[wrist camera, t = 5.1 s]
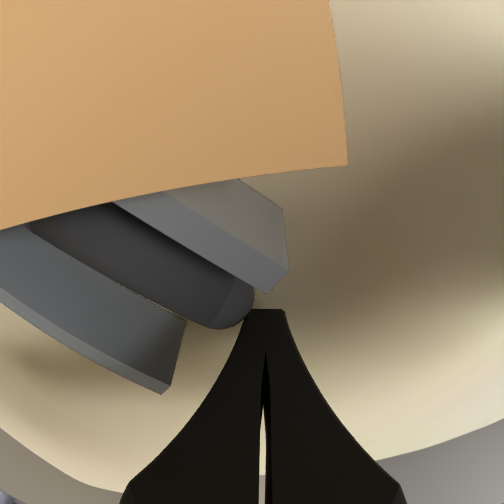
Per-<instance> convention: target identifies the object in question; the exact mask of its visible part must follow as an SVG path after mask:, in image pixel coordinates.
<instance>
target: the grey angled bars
mask: <svg viewBox="0 0 504 504" xmlns="http://www.w3.org/2000/svg"><path fill="white" fill-rule="evenodd" d="M112 202H113V203H115V204H117V205H118V206H120V207H121V208H123V209H125V210H126V211H128V212H129V213H131V214H133V215H134V216H136V217H138V218H139V219H141V220H142V221H144V222H146V223H147V224H149V225H151V226H152V227H154V228H155V229H157V230H159V231H160V232H162V233H164V234H165V235H167V236H169V237H170V238H172V239H174V240H175V241H177V242H179V243H180V244H182V245H184V246H185V247H187V248H189V249H190V250H192V251H194V252H195V253H197V254H199V255H200V256H202V257H204V258H205V259H207V260H209V261H210V262H212V263H214V264H215V265H217V266H219V267H221V268H222V269H224V270H226V271H227V272H229V273H231V274H233V275H234V276H236V277H238V278H239V279H241V280H243V281H245V282H246V283H248V284H250V285H251V286H253V287H255V288H257V289H258V290H260V291H262V292H264V293H265V294H267V293H268V292H269V291H270V290H271V289H272V288H273V287H274V286H275V285H276V284H277V283H278V282H279V281H280V280H281V279H282V278H283V277H284V276H285V275H286V274H287V273H288V272H289V264H288V254H287V245H286V236H285V227H284V218H283V210H282V209H281V208H280V207H278V206H277V205H275V204H274V203H272V202H271V201H270V200H268V199H267V198H265V197H264V196H262V195H261V194H259V193H258V192H256V191H255V190H253V189H252V188H250V187H249V186H247V185H246V184H244V183H243V182H241V181H240V180H238V179H237V178H236V179H230V180H223V181H217V182H211V183H205V184H199V185H193V186H187V187H181V188H176V189H170V190H165V191H160V192H155V193H150V194H145V195H140V196H135V197H130V198H125V199H120V200H116V201H112ZM0 302H1V303H2V304H4V305H5V306H6V307H8V308H9V309H11V310H12V311H13V312H15V313H16V314H18V315H19V316H21V317H22V318H23V319H25V320H26V321H28V322H29V323H31V324H32V325H34V326H35V327H37V328H38V329H40V330H41V331H43V332H45V333H46V334H48V335H49V336H51V337H52V338H54V339H56V340H57V341H59V342H61V343H62V344H64V345H65V346H67V347H69V348H71V349H72V350H74V351H76V352H77V353H79V354H81V355H83V356H84V357H86V358H88V359H90V360H92V361H93V362H95V363H97V364H99V365H101V366H103V367H105V368H107V369H108V370H110V371H112V372H114V373H116V374H118V375H120V376H122V377H124V378H126V379H128V380H130V381H132V382H134V383H136V384H139V385H141V386H143V387H145V388H147V389H149V390H152V391H154V392H156V393H158V394H160V395H161V394H163V393H164V392H165V391H166V390H167V389H168V388H169V387H170V386H171V382H172V378H173V374H174V370H175V365H176V361H177V357H178V353H179V349H180V345H181V341H182V337H183V333H184V329H185V325H186V321H184V320H182V319H180V318H178V317H177V316H175V315H173V314H171V313H169V312H167V311H165V310H164V309H162V308H160V307H158V306H156V305H155V304H153V303H151V302H149V301H147V300H146V299H144V298H142V297H140V296H139V295H137V294H135V293H133V292H132V291H130V290H128V289H126V288H125V287H123V286H121V285H120V284H118V283H116V282H115V281H113V280H111V279H109V278H108V277H106V276H105V275H103V274H101V273H99V272H97V271H96V270H94V269H92V268H90V267H89V266H87V265H85V264H83V263H82V262H80V261H78V260H77V259H75V258H73V257H71V256H70V255H68V254H66V253H65V252H63V251H61V250H60V249H58V248H56V247H55V246H53V245H52V244H50V243H48V242H47V241H45V240H43V239H42V238H40V237H39V236H37V235H35V234H34V233H32V232H31V231H30V230H29V229H28V228H26V226H25V225H24V224H19V225H16V226H12V227H9V228H6V229H2V230H0Z"/></svg>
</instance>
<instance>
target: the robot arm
mask: <svg viewBox="0 0 504 504" xmlns="http://www.w3.org/2000/svg"><path fill="white" fill-rule="evenodd" d="M263 408H264V420H265V431H266V478H265V504H407V502H406V499H405V497H404V493H403V491H402V489H401V486H400V484H399V483H398V482H397V481H396V480H395V479H393V478H392V477H391V476H390V475H389V474H388V473H387V472H386V471H385V470H384V469H383V468H382V467H381V466H379V465H378V464H377V463H376V462H375V461H374V460H373V458H372V457H371V456H370V455H369V454H368V453H367V452H366V451H365V450H364V449H363V448H362V447H361V446H360V444H359V443H358V442H357V441H356V440H355V438H354V437H353V436H352V435H351V434H350V432H349V431H348V430H347V429H346V428H345V426H344V425H343V424H342V423H341V421H340V420H339V419H338V417H337V416H336V414H335V413H334V412H333V410H332V409H331V407H330V406H329V404H328V403H327V401H326V400H325V398H324V397H323V395H322V394H321V392H320V390H319V389H318V387H317V385H316V384H315V382H314V380H313V378H312V376H311V375H310V373H309V371H308V369H307V367H306V365H305V363H304V361H303V359H302V357H301V355H300V353H299V351H298V349H297V346H296V344H295V342H294V339H293V337H292V334H291V331H290V329H289V326H288V323H287V319H286V315H285V312H284V311H283V310H282V309H251V310H250V312H249V313H248V314H247V315H246V317H245V318H244V321H243V324H242V327H241V330H240V333H239V335H238V338H237V340H236V343H235V345H234V347H233V349H232V351H231V354H230V356H229V358H228V360H227V362H226V364H225V366H224V368H223V369H222V371H221V373H220V375H219V377H218V378H217V380H216V382H215V384H214V385H213V387H212V389H211V390H210V392H209V393H208V395H207V396H206V398H205V399H204V401H203V402H202V404H201V405H200V407H199V408H198V409H197V411H196V412H195V413H194V415H193V416H192V417H191V419H190V420H189V421H188V423H187V424H186V425H185V426H184V428H183V429H182V430H181V431H180V432H179V433H178V435H177V436H176V437H175V438H174V439H173V440H172V441H171V442H170V443H169V444H168V446H167V447H166V448H165V449H164V450H163V451H162V452H161V453H160V454H159V455H158V456H157V457H156V458H155V459H154V460H153V461H152V462H151V463H150V464H149V465H148V466H146V467H145V468H144V469H143V470H142V471H141V472H140V473H139V474H137V475H136V476H135V477H134V478H133V479H132V480H131V481H130V482H129V483H128V485H127V487H126V489H125V491H124V493H123V495H122V498H121V500H120V503H119V504H258V503H259V456H260V427H261V419H262V411H263ZM0 504H26V503H24V502H22V501H20V500H18V499H16V498H14V497H13V496H11V495H10V494H8V493H6V492H5V491H3V490H1V489H0ZM502 504H504V503H502Z"/></svg>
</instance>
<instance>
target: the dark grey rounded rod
mask: <svg viewBox="0 0 504 504" xmlns="http://www.w3.org/2000/svg"><path fill="white" fill-rule="evenodd" d="M23 224H24V225H25V226H26V228H28V229H29V230H30V231H31V232H32V233H34V234H35V235H37V236H39V237H40V238H42V239H43V240H45V241H47V242H48V243H50V244H52V245H53V246H55V247H56V248H58V249H60V250H61V251H63V252H65V253H66V254H68V255H70V256H71V257H73V258H75V259H77V260H78V261H80V262H82V263H83V264H85V265H87V266H89V267H90V268H92V269H94V270H96V271H97V272H99V273H101V274H103V275H105V276H106V277H108V278H110V279H112V280H114V281H115V282H117V283H119V284H121V285H123V286H125V287H127V288H128V289H130V290H132V291H134V292H136V293H138V294H140V295H142V296H144V297H146V298H147V299H149V300H151V301H153V302H155V303H157V304H159V305H161V306H163V307H165V308H167V309H169V310H171V311H173V312H175V313H177V314H179V315H181V316H183V317H186V318H188V319H190V320H192V321H194V322H196V323H198V324H200V325H202V326H205V327H208V328H211V329H226V328H229V327H233V326H235V325H236V324H238V323H240V322H241V321H242V320H243V319H244V318H245V317H246V315H247V314H248V313H249V312H250V310H251V308H252V305H253V302H254V287H253V286H251V285H250V284H248V283H246V282H245V281H243V280H241V279H239V278H238V277H236V276H234V275H233V274H231V273H229V272H227V271H226V270H224V269H222V268H221V267H219V266H217V265H215V264H214V263H212V262H210V261H209V260H207V259H205V258H204V257H202V256H200V255H199V254H197V253H195V252H194V251H192V250H190V249H189V248H187V247H185V246H184V245H182V244H180V243H179V242H177V241H175V240H174V239H172V238H170V237H169V236H167V235H165V234H164V233H162V232H160V231H159V230H157V229H155V228H154V227H152V226H151V225H149V224H147V223H146V222H144V221H142V220H141V219H139V218H138V217H136V216H134V215H133V214H131V213H129V212H128V211H126V210H125V209H123V208H121V207H120V206H118V205H117V204H115V203H113V202H112V201H111V202H107V203H102V204H98V205H93V206H89V207H85V208H81V209H77V210H72V211H68V212H64V213H60V214H57V215H53V216H49V217H45V218H41V219H38V220H34V221H30V222H27V223H23Z"/></svg>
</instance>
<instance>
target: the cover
mask: <svg viewBox="0 0 504 504" xmlns="http://www.w3.org/2000/svg"><path fill="white" fill-rule="evenodd" d="M345 165H348V157H347V142H346V128H345V117H344V106H343V96H342V87H341V78H340V70H339V62H338V55H337V48H336V41H335V35H334V29H333V22H332V17H331V11H330V6H329V0H0V230H2V229H6V228H9V227H12V226H16V225H19V224H23V223H27V222H30V221H34V220H38V219H41V218H45V217H49V216H53V215H57V214H60V213H64V212H68V211H72V210H77V209H81V208H85V207H89V206H93V205H98V204H102V203H107V202H111V201H116V200H120V199H125V198H130V197H135V196H140V195H145V194H150V193H155V192H160V191H165V190H170V189H176V188H181V187H187V186H193V185H199V184H205V183H211V182H217V181H223V180H230V179H236V178H243V177H250V176H257V175H265V174H272V173H280V172H288V171H297V170H305V169H315V168H324V167H334V166H345Z"/></svg>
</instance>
